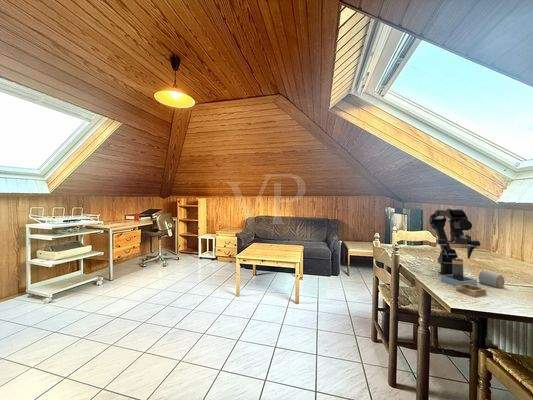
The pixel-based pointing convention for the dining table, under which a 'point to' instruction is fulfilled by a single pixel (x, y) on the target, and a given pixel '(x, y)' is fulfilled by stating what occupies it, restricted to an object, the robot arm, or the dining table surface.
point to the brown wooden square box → (471, 290)
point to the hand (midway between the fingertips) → (458, 257)
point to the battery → (458, 269)
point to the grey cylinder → (491, 279)
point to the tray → (454, 282)
